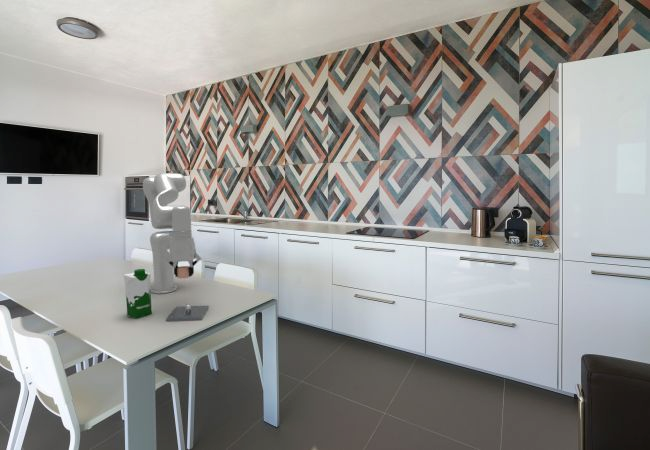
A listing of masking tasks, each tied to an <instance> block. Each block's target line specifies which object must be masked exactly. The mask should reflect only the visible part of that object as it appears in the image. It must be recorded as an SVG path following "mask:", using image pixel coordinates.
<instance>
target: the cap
mask: <svg viewBox="0 0 650 450" xmlns="http://www.w3.org/2000/svg"><path fill="white" fill-rule="evenodd" d="M189 267H190V265H183V266H178V268H177V277H176V278H177V279H188V278H190V277H191V276H189Z"/></svg>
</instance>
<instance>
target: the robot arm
mask: <svg viewBox="0 0 650 450" xmlns="http://www.w3.org/2000/svg"><path fill="white" fill-rule="evenodd" d="M186 187H187V180H186V177H185V175H183V174H181V173H175V172H174V173H173V172H172V173H171V172H170V173H169V172H160V173H158V174H156V175H155V176H152V177H145V179H144V180H143V182H142V190H143V193H144V196H145V197H146V200H147V202H148V205H149V214H150V223H151V226H152V228H153V229H155V230H163V231H156V232H153V233H152V234H151V235H150V237H149V243H150V247H151V252H152V265H153V268H152V269H153V282H150V291H151V294H158V295H159V294H168V293H172V292H175V291H177V290H178V286H177V285H175V278H177V268H178V267H179V265H178V264H179V262H180V263H181V262H188V266H190V267H189V276H190V277H192V276H193V275H194V273H195V272H194V271H195V268H194V266H195V265H196V264H198V263H199V262H200V261H201V260H202V257H201V256H200V255H199V254H198V253H197V252H196V249H197V248H196V244H195V240H194V239H195V238H194V237H193V235H192V217H191V215H192V212H191V208H190V207H189V206H186V205H170V204H172V203H173V202H176V200H177V199H178V197H179V193H181V192H183V191H184V190H186ZM168 229H169V230H168ZM171 229H172V230H171ZM168 250H169V251H168ZM174 277H175V278H174Z"/></svg>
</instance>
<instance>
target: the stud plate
mask: <svg viewBox="0 0 650 450" xmlns="http://www.w3.org/2000/svg"><path fill="white" fill-rule="evenodd" d="M209 308H210V306H209V305H208V304H207V305H191V304H190V303H188V304H185V305H184V306H183V305H182V306H175V308H174V309H173V310H172V311H171V312H170V313H169V314H168V316H167V317H166V318H165V321H166V322H180V321H181V322H184V321H190V322H191V321H202V320H203V318H204V316H205V314H206V313H207V312H208V310H209Z"/></svg>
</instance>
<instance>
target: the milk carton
mask: <svg viewBox="0 0 650 450" xmlns="http://www.w3.org/2000/svg"><path fill="white" fill-rule="evenodd" d="M123 278H124V283H125V298H126V315H127V316H128V315H129V317H131V318H133V319H135V320H136V319H140V318H143V317H145V316H149V315H151V314H153V313H152V312H153V311H152V310H153V309H152V295H151V294H152V292H151V287H150V283H151V273H149V272H147V271H146V269H144V268H137V269H135V270H134V272H130V273H125V274H123Z"/></svg>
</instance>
